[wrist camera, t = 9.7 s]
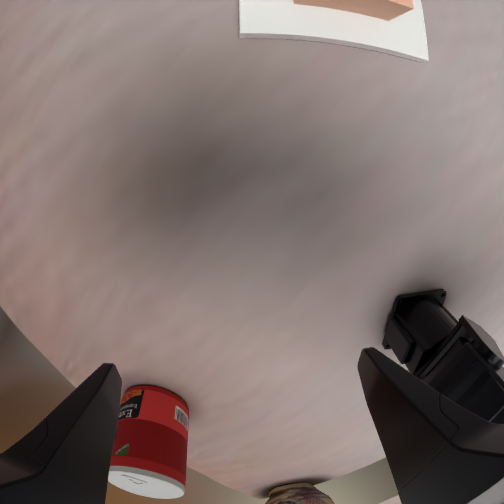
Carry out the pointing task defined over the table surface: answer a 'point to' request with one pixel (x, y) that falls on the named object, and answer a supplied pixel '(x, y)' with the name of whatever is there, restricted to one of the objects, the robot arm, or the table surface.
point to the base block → (365, 6)
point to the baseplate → (335, 27)
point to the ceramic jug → (298, 495)
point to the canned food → (150, 443)
